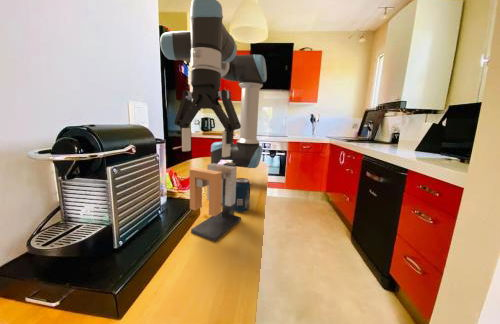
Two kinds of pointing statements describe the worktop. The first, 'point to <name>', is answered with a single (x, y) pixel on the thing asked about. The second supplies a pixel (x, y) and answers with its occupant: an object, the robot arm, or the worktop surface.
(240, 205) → the soda can
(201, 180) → the stand
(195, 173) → the orange link
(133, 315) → the worktop surface
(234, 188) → the grey link
